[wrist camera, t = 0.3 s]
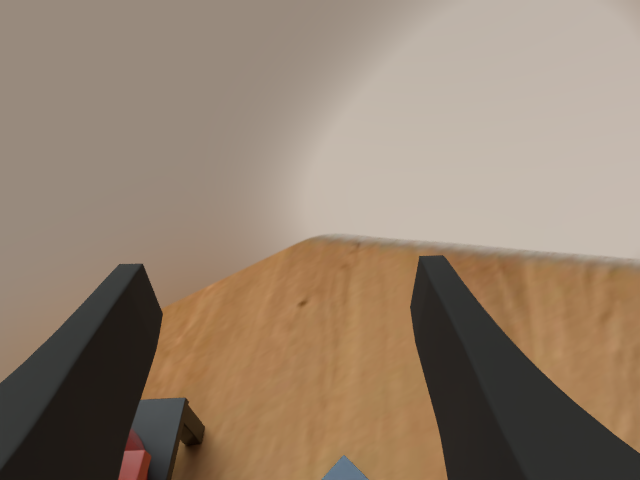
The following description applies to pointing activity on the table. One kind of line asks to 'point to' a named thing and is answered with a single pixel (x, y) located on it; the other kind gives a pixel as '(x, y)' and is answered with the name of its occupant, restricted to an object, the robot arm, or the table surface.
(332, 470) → the spatula
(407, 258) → the table surface
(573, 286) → the table surface
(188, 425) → the pot
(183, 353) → the table surface
